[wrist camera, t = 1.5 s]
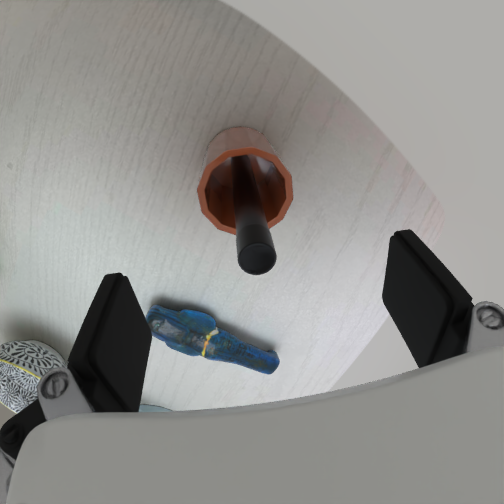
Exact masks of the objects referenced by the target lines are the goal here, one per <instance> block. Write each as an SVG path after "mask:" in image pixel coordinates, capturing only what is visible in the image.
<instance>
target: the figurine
mask: <svg viewBox="0 0 504 504" xmlns="http://www.w3.org/2000/svg"><path fill="white" fill-rule="evenodd" d="M146 321H147V323H148V325H149V327H150V329H151V333H152V336H154V337H156V338H158V339H159V340H162V341H164V342H165V343H166V345H167V346H168V347H170V348H171V349H174V350H176V351H179V352H182V353H184V354H187V355H190V356H199V355H200V356H203V357H205V358H207V359H210V360H216V361H223V362H229V363H234V364H238V365H241V366H244V367H247V368H250V369H253V370H255V371H258V372H261V373H265V374H272V373H273V372H274V371H275V370H276V369H277V367H278V365H279V363H280V360H279V357H278V355H277V354H276V352H275V351H274V350H270V351H268V352H266V351H263V350H261V349H259V348H257V347H255V346H253V345H250V344H248V343H246V342H243V341H241V340H240V339H238V338H237V337H235V336H233V335H232V334H230V333H229V332H227V331H225V330H222V329H220V328H218V327H216V322H215V320H214V319H213V318H212V317H211V316H209V315H208V314H205V313H202V312H199V311H194V310H186V309H183V310H181V311H180V312H178V311H174V310H170V309H167V308H164V307H161V306H159V305H153V306H152V307H151V308H150V310H149V311H148V313H147V315H146Z"/></svg>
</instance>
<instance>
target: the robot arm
mask: <svg viewBox="0 0 504 504" xmlns="http://www.w3.org/2000/svg"><path fill="white" fill-rule="evenodd" d="M382 299H383V303H384V305H385V306H386V308H387V310H388V312H389V313H390V315H391V317H392V319H393V321H394V322H395V324H396V326H397V328H398V330H399V331H400V333H401V335H402V337H403V339H404V340H405V342H406V344H407V346H408V348H409V350H410V352H411V354H412V356H413V357H414V359H415V361H416V363H417V365H418V367H419V368H418V369H415V370H412V371H409V372H406V373H402V374H398V375H395V376H392V377H388V378H384V379H381V380H377V381H374V382H369V383H365V384H361V385H357V386H353V387H349V388H344V389H340V390H335V391H331V392H326V393H321V394H316V395H311V396H305V397H300V398H294V399H288V400H282V401H275V402H269V403H261V404H254V405H246V406H237V407H227V408H217V409H204V410H190V411H168V412H139V407H140V401H141V395H142V389H143V383H144V378H145V372H146V367H147V361H148V356H149V351H150V346H151V341H152V333H151V329H150V327H149V325H148V323H147V321H146V318H145V316H144V314H143V312H142V309H141V307H140V305H139V303H138V300H137V298H136V296H135V293H134V291H133V289H132V286H131V284H130V281H129V279H128V277H127V276H123V275H122V273H113V274H107V275H105V276H104V278H103V280H102V282H101V284H100V286H99V288H98V291H97V293H96V295H95V297H94V299H93V301H92V304H91V306H90V308H89V310H88V313H87V315H86V317H85V319H84V322H83V324H82V326H81V329H80V331H79V333H78V336H77V338H76V341H75V343H74V346H73V348H72V351H71V353H70V356H69V358H68V362H69V363H68V366H67V368H65V367H56V368H53V369H51V370H49V371H47V372H46V373H45V374H44V375H43V376H42V377H41V379H40V381H39V383H38V385H37V395H38V399H36V400H35V401H34V402H32V403H31V404H30V405H28V406H27V407H26V408H24V409H23V410H21V411H20V412H19V413H17V414H16V415H15V416H13V417H12V418H11V419H9V420H8V421H7V422H6V423H5V424H4V425H3V426H2V428H1V430H0V504H504V309H503V308H502V307H500V306H499V305H498V304H495V303H493V302H487V301H484V302H480V303H477V304H476V305H475V306H474V305H473V303H472V302H471V301H472V297H471V296H470V295H469V294H468V293H467V291H466V290H465V289H464V287H463V286H462V285H461V284H460V283H459V282H458V280H456V278H455V277H454V276H453V275H452V274H451V272H450V271H449V270H448V269H447V268H446V267H445V266H444V264H443V263H442V262H441V261H440V260H439V259H438V258H437V257H436V256H435V255H434V253H433V252H432V251H431V250H430V249H429V248H428V247H427V246H426V245H425V244H424V243H423V242H422V241H421V240H420V238H419V237H418V236H417V235H416V234H415V233H414V232H413V231H412V230H410V229H408V230H401V231H396V232H395V233H394V236H391V238H390V243H389V251H388V259H387V266H386V273H385V280H384V287H383V293H382Z"/></svg>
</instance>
